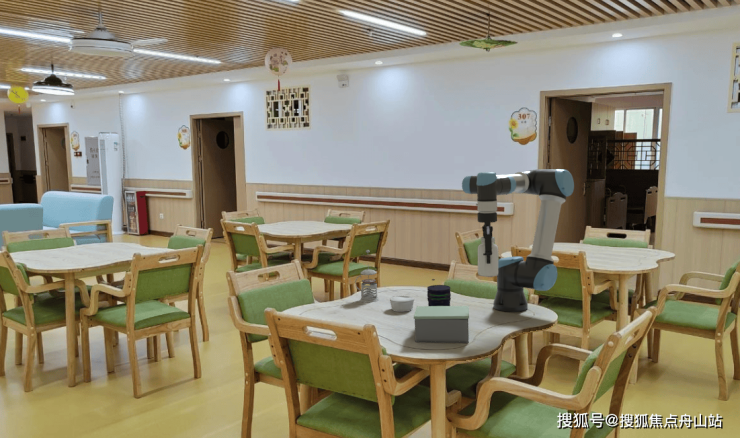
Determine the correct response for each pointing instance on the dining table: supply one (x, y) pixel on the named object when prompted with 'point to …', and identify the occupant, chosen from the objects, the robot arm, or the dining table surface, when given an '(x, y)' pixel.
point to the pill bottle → (482, 259)
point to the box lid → (442, 312)
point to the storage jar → (438, 295)
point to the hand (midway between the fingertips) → (488, 269)
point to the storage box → (442, 330)
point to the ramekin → (402, 303)
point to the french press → (368, 286)
